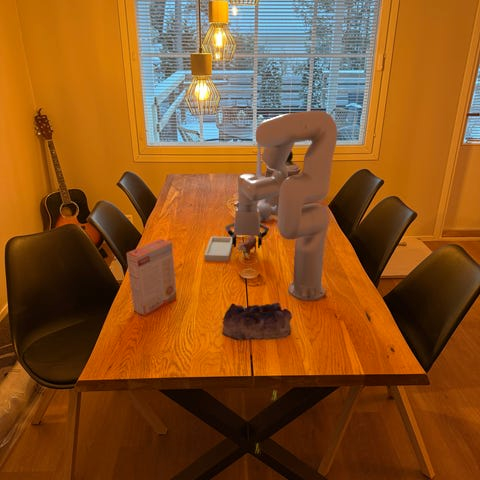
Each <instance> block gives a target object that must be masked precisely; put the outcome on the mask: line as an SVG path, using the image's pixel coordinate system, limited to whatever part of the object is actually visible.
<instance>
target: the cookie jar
mask: <svg viewBox="0 0 480 480" xmlns="http://www.w3.org/2000/svg"><path fill="white" fill-rule="evenodd" d="M293 157H294V155H293V151H292V150H291V152H290V154H289V156H288V158H287V160H286V163H285V164H286V166H287V170H288V177H289V176H292V175H297V174H300V173H301V171H302V170H301V167H300V166H299V165H298V164H297V163H295V162H293ZM265 168H266V172H265V176H266V178H268V177H271V176H272V174H273V172H274V170H275V169H272V168H270V167H268V166H267V165H266V167H265ZM262 203H267V204H269V205H270V206H271V207H275V205H277V207H278V204H279V195H278V196H276V197H272V198H267V199H263V200H259V201H258V202H257V207H258V206H259V205H260V204H262Z"/></svg>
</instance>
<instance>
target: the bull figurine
mask: <svg viewBox="0 0 480 480" xmlns="http://www.w3.org/2000/svg"><path fill="white" fill-rule="evenodd" d="M257 243H258V239H257V236H248V238H247V239H245V241H239V243H238V245H237V247H236V250H237V251H242V252H243V257H245V258H246V256H247V257H249V258H250V255H251V250H253V249H254V251H253V253H254V254H255V253H257ZM246 254H247V255H246ZM243 257H242V258H243Z"/></svg>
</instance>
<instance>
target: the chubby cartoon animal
mask: <svg viewBox="0 0 480 480" xmlns="http://www.w3.org/2000/svg"><path fill="white" fill-rule="evenodd" d="M257 208H258V209H259V213H260V223H261V222H265V223H269V222H270V221H271V220H270V217H271V216H276V217H278V207H277V205H275V207H271V206H270V205H269V204H267V203H262V204H260V205H259V206H258V207H257Z"/></svg>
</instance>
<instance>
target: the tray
mask: <svg viewBox="0 0 480 480" xmlns="http://www.w3.org/2000/svg"><path fill="white" fill-rule="evenodd" d="M233 246H234V244H232V237H231V236H210V239H209V241H208V244H207V247H206V250H205V253H204V261H205V262H229V261H230V257H231V255H232V250H233Z"/></svg>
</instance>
